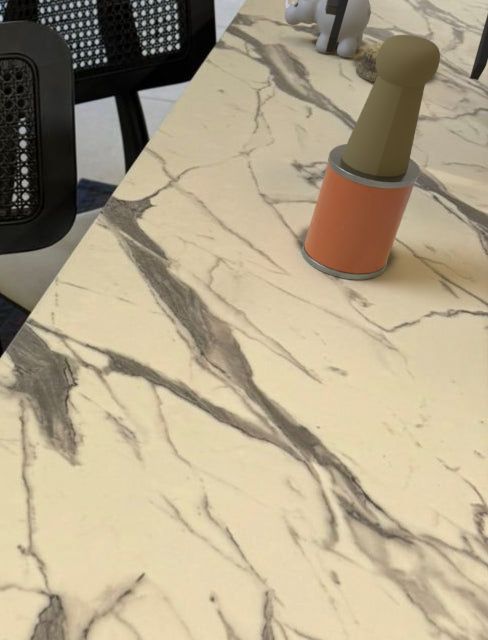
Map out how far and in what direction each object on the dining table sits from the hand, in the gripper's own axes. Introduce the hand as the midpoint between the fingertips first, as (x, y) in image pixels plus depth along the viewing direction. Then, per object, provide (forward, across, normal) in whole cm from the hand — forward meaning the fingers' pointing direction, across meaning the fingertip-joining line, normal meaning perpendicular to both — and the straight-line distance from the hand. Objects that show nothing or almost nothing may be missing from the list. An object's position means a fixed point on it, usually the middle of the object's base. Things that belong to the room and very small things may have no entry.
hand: (403, 59), depth 97 cm
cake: (-20, -2, -44) cm, 48 cm away
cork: (+11, 0, +2) cm, 11 cm away
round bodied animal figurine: (-25, +9, -49) cm, 56 cm away
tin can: (+18, 0, -5) cm, 19 cm away
